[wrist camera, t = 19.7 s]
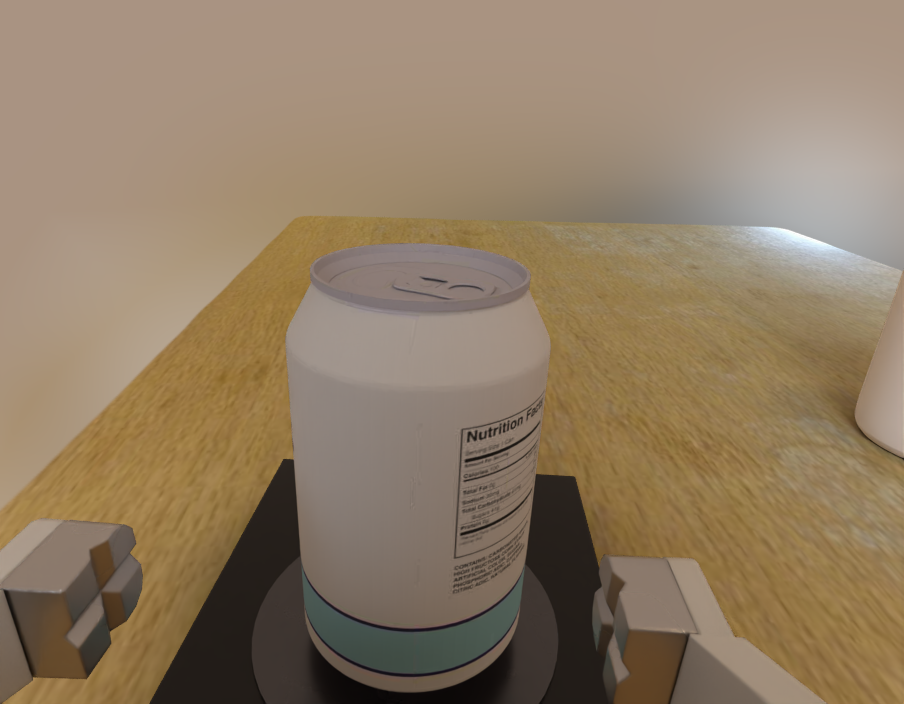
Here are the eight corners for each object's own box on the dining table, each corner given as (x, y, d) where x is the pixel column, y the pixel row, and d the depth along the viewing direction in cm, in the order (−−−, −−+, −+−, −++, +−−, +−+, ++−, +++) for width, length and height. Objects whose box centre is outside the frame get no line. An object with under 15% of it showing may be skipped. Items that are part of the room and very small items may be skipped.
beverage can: (372, 526, 24) (369, 229, 19) (539, 580, 21) (582, 257, 17) (260, 664, 18) (215, 280, 13) (474, 758, 15) (512, 334, 11)
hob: (702, 1056, 12) (726, 1006, 11) (22, 1002, 12) (-5, 949, 11) (571, 501, 28) (577, 465, 28) (285, 484, 29) (282, 447, 28)
